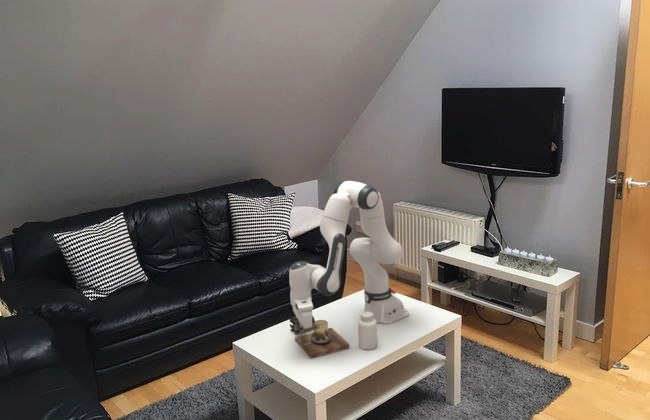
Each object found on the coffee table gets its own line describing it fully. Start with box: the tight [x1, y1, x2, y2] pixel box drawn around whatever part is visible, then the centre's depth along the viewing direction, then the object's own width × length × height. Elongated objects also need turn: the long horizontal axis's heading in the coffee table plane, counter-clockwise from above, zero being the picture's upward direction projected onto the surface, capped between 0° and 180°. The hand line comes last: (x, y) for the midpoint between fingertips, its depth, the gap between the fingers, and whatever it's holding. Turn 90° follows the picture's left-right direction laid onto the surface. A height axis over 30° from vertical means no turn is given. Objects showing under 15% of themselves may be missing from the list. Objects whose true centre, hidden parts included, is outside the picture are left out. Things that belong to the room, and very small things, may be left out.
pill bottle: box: [357, 311, 378, 351], centre depth 242 cm, size 8×8×15 cm
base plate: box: [294, 327, 350, 359], centre depth 247 cm, size 18×18×2 cm
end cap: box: [289, 315, 316, 333], centre depth 260 cm, size 10×7×7 cm
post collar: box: [311, 332, 332, 345], centre depth 246 cm, size 9×9×2 cm
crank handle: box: [293, 319, 329, 340], centre depth 243 cm, size 16×10×8 cm, turn 119°
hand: (302, 329), depth 243 cm, fingers closed
